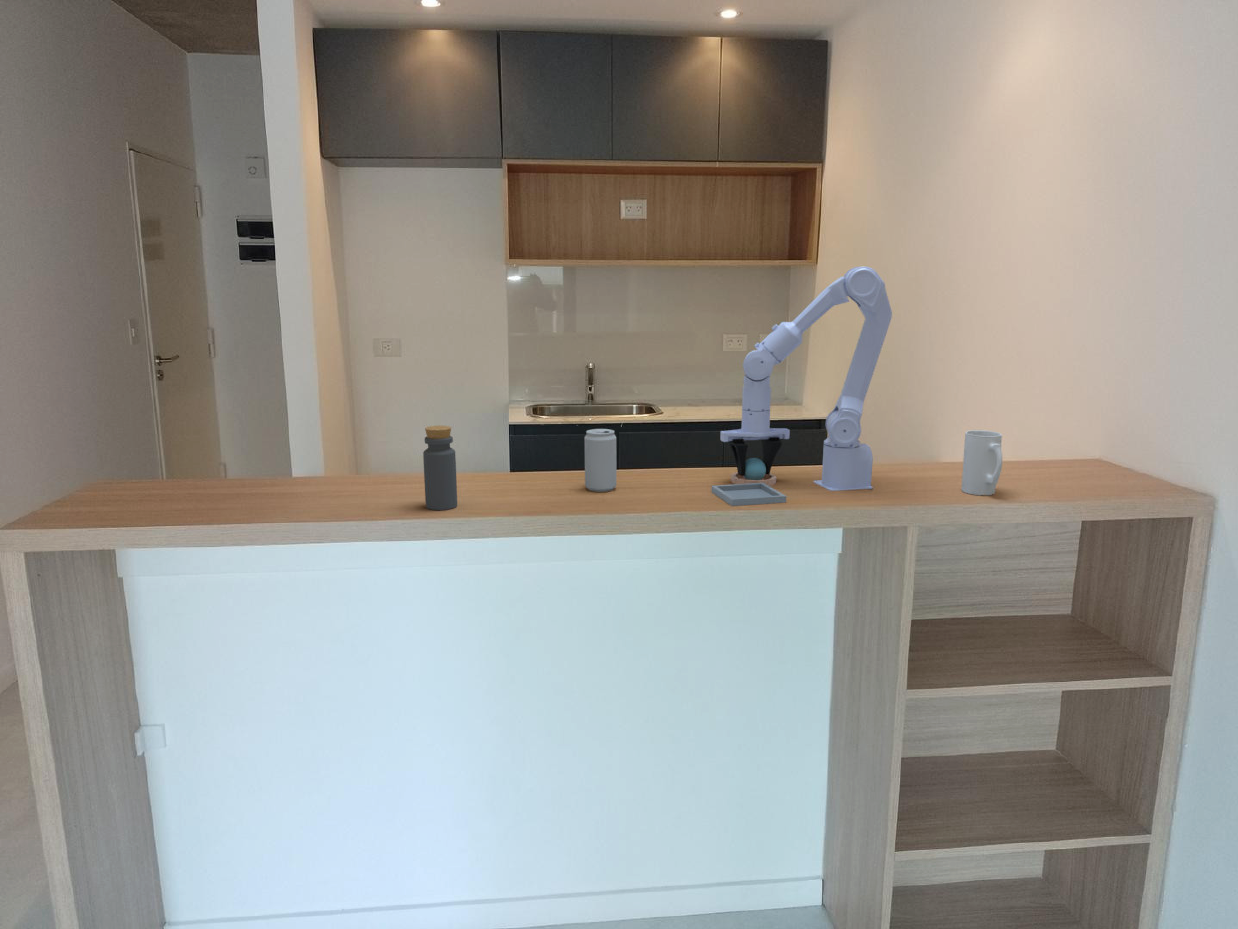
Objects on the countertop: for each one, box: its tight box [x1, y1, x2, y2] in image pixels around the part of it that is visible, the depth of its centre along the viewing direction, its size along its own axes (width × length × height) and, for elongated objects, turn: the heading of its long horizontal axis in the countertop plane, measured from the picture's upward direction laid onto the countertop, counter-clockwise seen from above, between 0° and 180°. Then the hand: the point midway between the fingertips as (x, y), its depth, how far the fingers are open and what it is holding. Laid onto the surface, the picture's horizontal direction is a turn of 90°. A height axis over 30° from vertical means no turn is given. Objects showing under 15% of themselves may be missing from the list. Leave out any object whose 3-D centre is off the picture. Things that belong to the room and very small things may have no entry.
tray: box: [710, 483, 787, 507], centre depth 168 cm, size 11×11×2 cm
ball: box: [744, 457, 766, 480], centre depth 180 cm, size 5×5×5 cm
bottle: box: [422, 425, 458, 511], centre depth 161 cm, size 6×6×15 cm
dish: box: [730, 471, 777, 487], centre depth 180 cm, size 9×9×2 cm
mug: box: [961, 429, 1003, 496], centre depth 171 cm, size 10×7×12 cm, turn 9°
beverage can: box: [584, 428, 617, 493], centre depth 174 cm, size 6×6×12 cm
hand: (753, 474), depth 180 cm, fingers closed on ball, 5 cm apart
